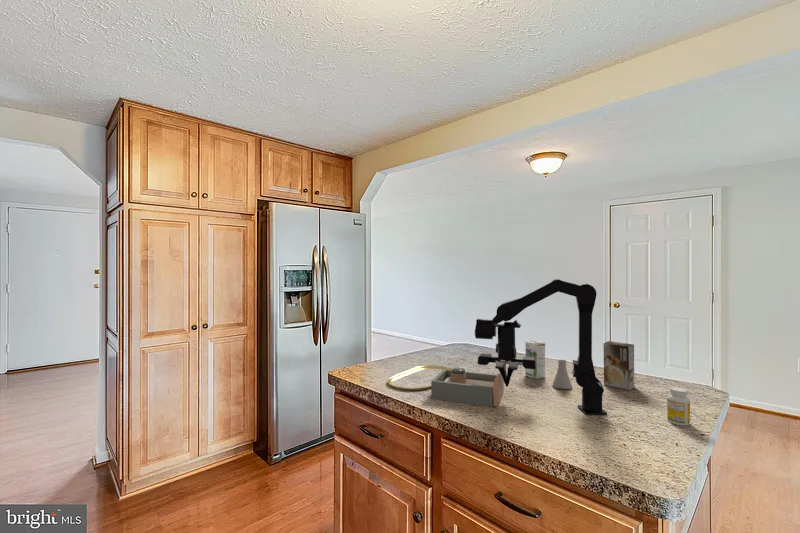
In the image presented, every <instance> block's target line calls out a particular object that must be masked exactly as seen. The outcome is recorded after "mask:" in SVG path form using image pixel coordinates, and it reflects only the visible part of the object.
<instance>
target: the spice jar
mask: <svg viewBox="0 0 800 533" xmlns="http://www.w3.org/2000/svg"><path fill="white" fill-rule="evenodd" d="M465 371H466V369H464V368H460V367H455V368H452V369H451V382H453V383H462V384H466V372H465Z"/></svg>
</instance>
